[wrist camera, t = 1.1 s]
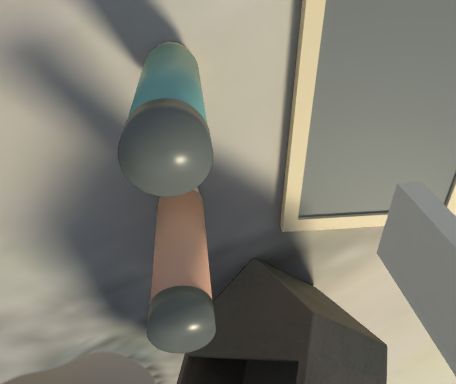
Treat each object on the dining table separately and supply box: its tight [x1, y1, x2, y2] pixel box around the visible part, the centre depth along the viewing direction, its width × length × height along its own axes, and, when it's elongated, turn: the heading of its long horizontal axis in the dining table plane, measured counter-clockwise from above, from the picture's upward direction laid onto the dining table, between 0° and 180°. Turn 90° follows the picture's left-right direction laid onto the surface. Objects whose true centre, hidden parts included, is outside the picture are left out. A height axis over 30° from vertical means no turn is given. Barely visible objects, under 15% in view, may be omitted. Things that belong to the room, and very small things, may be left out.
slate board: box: [280, 0, 456, 232], centre depth 29 cm, size 15×19×1 cm
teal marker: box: [118, 42, 213, 197], centre depth 20 cm, size 4×4×13 cm
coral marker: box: [147, 187, 216, 353], centre depth 25 cm, size 4×4×13 cm
